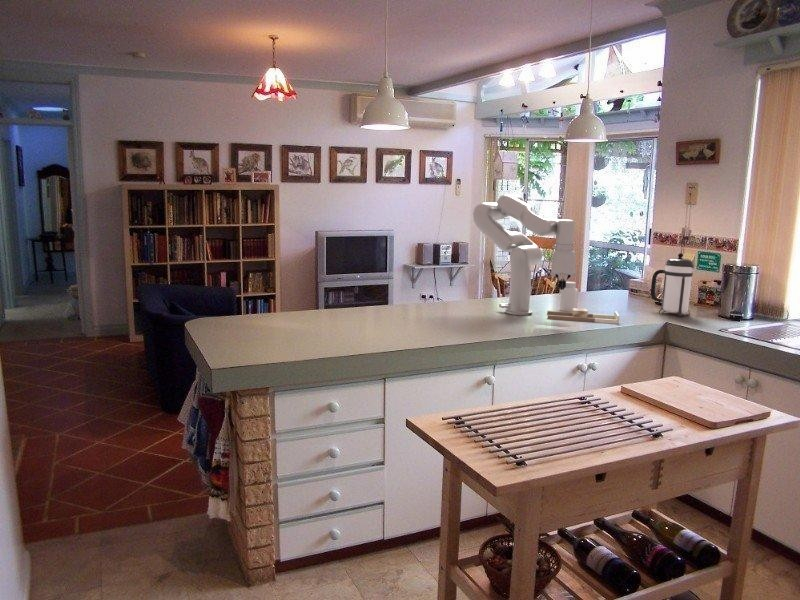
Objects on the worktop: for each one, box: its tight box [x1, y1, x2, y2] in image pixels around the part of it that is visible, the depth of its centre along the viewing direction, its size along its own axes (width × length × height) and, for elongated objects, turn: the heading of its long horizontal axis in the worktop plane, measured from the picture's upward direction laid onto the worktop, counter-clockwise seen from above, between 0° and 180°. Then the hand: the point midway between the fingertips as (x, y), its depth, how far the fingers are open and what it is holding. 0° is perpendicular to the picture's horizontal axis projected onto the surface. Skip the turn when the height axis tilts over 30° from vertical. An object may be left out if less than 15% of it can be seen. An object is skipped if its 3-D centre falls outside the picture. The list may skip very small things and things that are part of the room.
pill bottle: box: [559, 281, 579, 312], centre depth 302 cm, size 8×8×15 cm
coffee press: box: [650, 252, 696, 318], centre depth 309 cm, size 17×16×30 cm
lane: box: [546, 310, 620, 325], centre depth 282 cm, size 30×12×5 cm, turn 78°
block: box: [572, 307, 589, 318], centre depth 282 cm, size 6×6×4 cm
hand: (562, 289), depth 282 cm, fingers closed
